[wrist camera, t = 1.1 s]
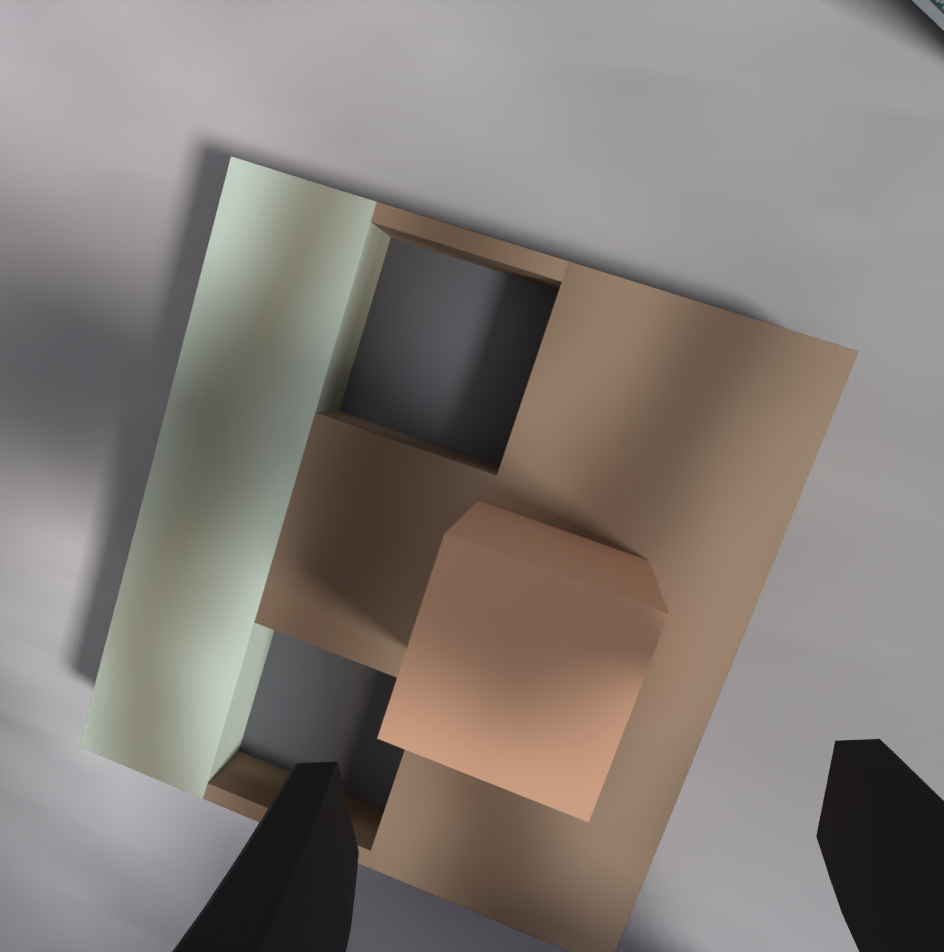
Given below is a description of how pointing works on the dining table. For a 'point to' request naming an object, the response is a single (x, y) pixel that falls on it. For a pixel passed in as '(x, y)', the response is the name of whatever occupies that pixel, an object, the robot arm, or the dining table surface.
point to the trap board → (439, 525)
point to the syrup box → (933, 10)
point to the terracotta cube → (526, 658)
